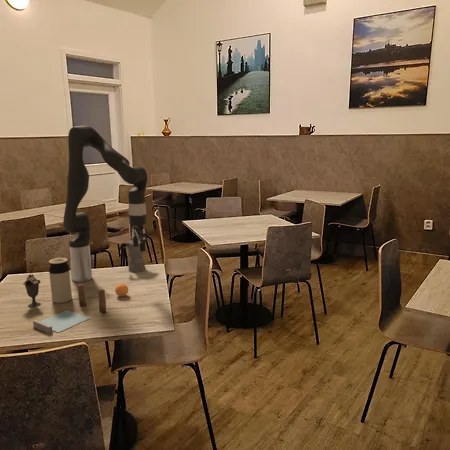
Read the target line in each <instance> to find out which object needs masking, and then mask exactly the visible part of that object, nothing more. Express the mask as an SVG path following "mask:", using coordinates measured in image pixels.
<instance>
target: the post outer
mask: <svg viewBox="0 0 450 450" xmlns="http://www.w3.org/2000/svg"><path fill="white" fill-rule="evenodd" d="M97 295H98V307H99V308H98V309H99V310H98V311H99V314H105V313H107V305H106V301H107V300H106V291H105V289H98V291H97Z"/></svg>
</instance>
